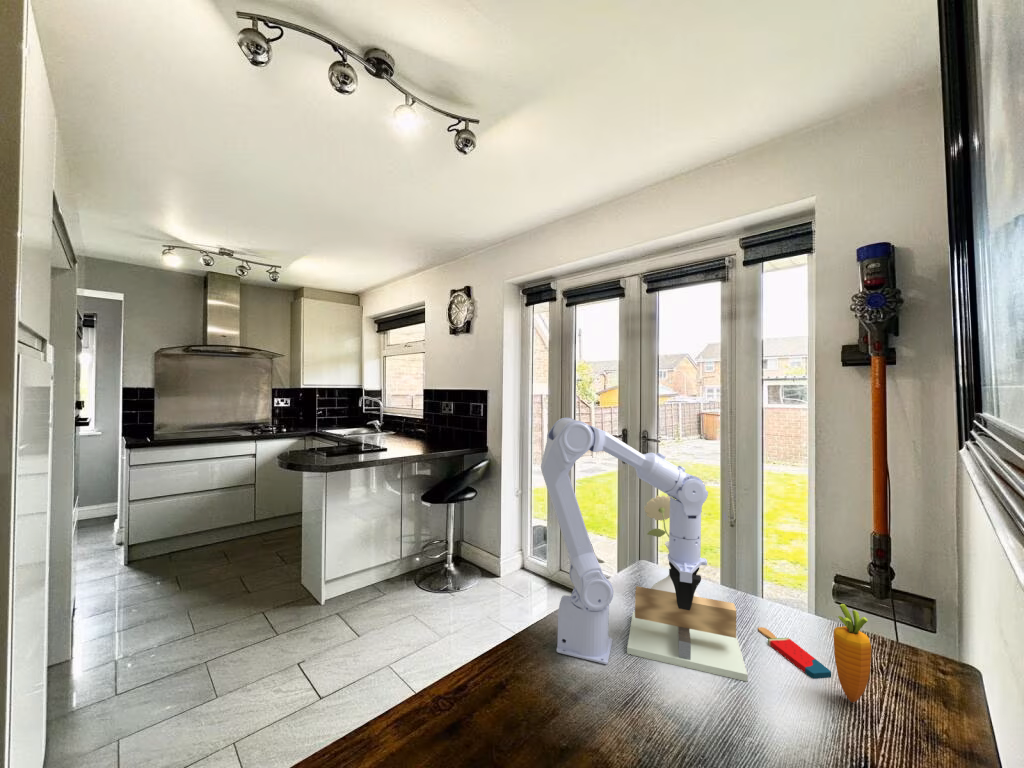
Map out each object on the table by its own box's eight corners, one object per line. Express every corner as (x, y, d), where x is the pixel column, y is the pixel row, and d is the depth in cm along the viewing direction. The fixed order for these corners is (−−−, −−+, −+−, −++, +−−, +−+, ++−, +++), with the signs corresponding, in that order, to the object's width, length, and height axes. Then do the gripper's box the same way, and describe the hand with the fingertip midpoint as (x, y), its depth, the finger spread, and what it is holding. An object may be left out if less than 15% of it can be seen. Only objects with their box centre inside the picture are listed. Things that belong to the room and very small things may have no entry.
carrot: (879, 716, 65) (879, 618, 65) (843, 710, 66) (843, 614, 66) (859, 693, 69) (860, 602, 70) (826, 689, 70) (826, 599, 71)
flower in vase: (701, 598, 101) (703, 494, 101) (701, 621, 91) (703, 505, 91) (645, 586, 106) (646, 488, 107) (639, 607, 96) (641, 498, 96)
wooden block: (634, 617, 84) (635, 592, 84) (636, 610, 86) (636, 586, 87) (736, 638, 77) (736, 610, 78) (733, 629, 80) (733, 603, 80)
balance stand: (627, 653, 79) (627, 631, 79) (632, 616, 92) (633, 597, 92) (747, 681, 72) (747, 656, 72) (735, 637, 85) (735, 616, 85)
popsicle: (770, 624, 88) (834, 671, 74) (770, 631, 88) (834, 680, 74) (750, 625, 88) (810, 673, 73) (750, 632, 88) (810, 681, 73)
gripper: (710, 550, 74) (709, 628, 74) (704, 526, 88) (703, 591, 87) (668, 544, 76) (667, 619, 76) (668, 522, 90) (667, 585, 90)
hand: (683, 604), depth 82 cm, fingers closed on wooden block, 3 cm apart
